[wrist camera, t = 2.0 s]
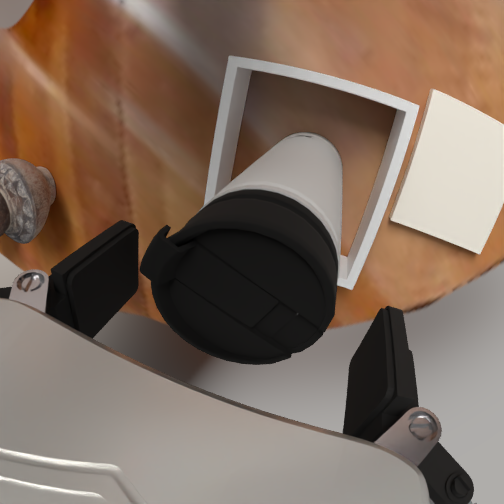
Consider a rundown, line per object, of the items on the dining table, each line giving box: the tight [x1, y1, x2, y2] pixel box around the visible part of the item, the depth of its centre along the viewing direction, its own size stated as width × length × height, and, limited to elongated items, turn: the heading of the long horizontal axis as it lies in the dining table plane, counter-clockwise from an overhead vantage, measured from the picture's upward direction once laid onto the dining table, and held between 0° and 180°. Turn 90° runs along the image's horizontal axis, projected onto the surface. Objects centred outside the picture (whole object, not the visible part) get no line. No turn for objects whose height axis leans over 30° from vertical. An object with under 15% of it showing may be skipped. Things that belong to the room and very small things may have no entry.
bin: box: [204, 56, 419, 290], centre depth 25 cm, size 16×14×4 cm
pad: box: [389, 89, 504, 254], centre depth 22 cm, size 12×10×1 cm
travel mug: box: [140, 132, 342, 365], centre depth 18 cm, size 6×7×20 cm
